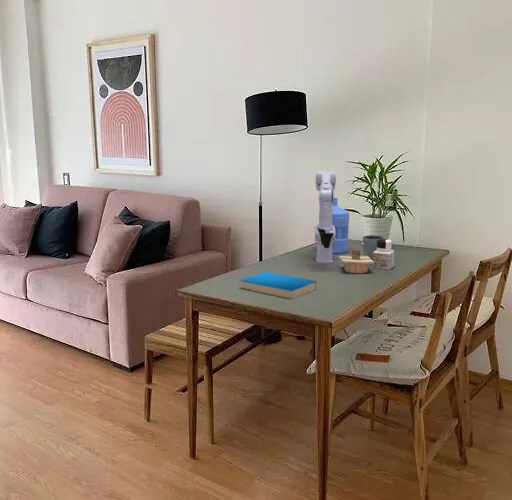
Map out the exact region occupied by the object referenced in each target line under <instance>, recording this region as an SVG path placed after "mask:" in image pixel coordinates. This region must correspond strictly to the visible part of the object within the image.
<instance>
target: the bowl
mask: <svg viewBox="0 0 512 500" xmlns="http://www.w3.org/2000/svg"><path fill="white" fill-rule="evenodd" d="M343 266H344V267H343V270H344V272H347V273H351V274H363V273H367V272H368V270H369V264H343Z"/></svg>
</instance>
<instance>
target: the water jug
mask: <svg viewBox="0 0 512 500" xmlns="http://www.w3.org/2000/svg"><path fill="white" fill-rule="evenodd" d="M331 202H332V201H331ZM332 203H333V207H332V225H334V226H335V242H333V244H332V255H340V254H345V253H347V252H349V224H350V213H349V211H348V210H346V209H344V208H343V207H341V206H339V205H338V203H339V202H338V197H334V201H333V202H332ZM319 213H320V211H319ZM319 213H318V214H319Z"/></svg>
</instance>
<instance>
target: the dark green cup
mask: <svg viewBox="0 0 512 500" xmlns="http://www.w3.org/2000/svg"><path fill="white" fill-rule="evenodd" d="M379 239H385V236H382V235H377V234H375V235H374V234H369V235H364V236H362V242H363V247H362V248H363V256H368V257H369V258H370V259H371V260H372V261H373V252H374V251H376V250H377V240H379Z"/></svg>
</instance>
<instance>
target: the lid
mask: <svg viewBox="0 0 512 500" xmlns="http://www.w3.org/2000/svg"><path fill="white" fill-rule="evenodd" d="M338 258H339V260H340V261H341V262H342V264H343V265H344V264H368V265H373V264H374V262H373V261H372V260H371V259H370V258H369V257H368V256H364V255H361V250H360V249H358V248H357V249H356V248H355V249H354V248H353V249H351V255H338Z"/></svg>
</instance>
